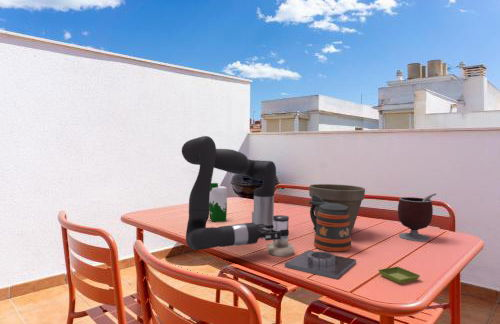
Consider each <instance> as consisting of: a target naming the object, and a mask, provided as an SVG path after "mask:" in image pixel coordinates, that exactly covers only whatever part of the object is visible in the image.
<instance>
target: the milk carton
mask: <svg viewBox="0 0 500 324" xmlns="http://www.w3.org/2000/svg"><path fill="white" fill-rule="evenodd" d="M227 208H228V187H226V186H223V185H220V186H219V183H218V182H211V187H210V198H209V220H210V219H211V220H212V221H211V220H210V221H211V222H213V223H216V222H215V221H222V222H227V212H228V211H227V210H228V209H227Z"/></svg>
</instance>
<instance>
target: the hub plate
mask: <svg viewBox="0 0 500 324" xmlns="http://www.w3.org/2000/svg"><path fill="white" fill-rule="evenodd" d="M356 263H357V259H355V258H351V257H350V258H349V257H345V256H342V255H341V256H340V255H335V254H333V253H331V252H329V251H321V250H320V251H317V250H316V251H314V250H309V249H307V250H306V251H305V252H302V253H300V254H298V255H297V256H295V257H293V258H291V259H290V260H288V261H287V262H284V268H288V269H293V270H296V271H301V272H305V273H309V274H314V275H317V276H318V275H319V276H323V277H326V278H330V279H335V280H338V279H339V278H340V277H342V275H344V274H345V273H346V272H347V271H349V270H350V269H351V268H352V267H353V266H355V265H356Z"/></svg>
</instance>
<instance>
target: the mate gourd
mask: <svg viewBox="0 0 500 324" xmlns="http://www.w3.org/2000/svg"><path fill="white" fill-rule="evenodd" d="M434 196H437V193H436V192H435V193H432V194H428V195H427V196H425V197H414V196H413V197H411V196H405V197H404V196H403V197H399V200H398V204H397V215H398V216H397V217H398V221H399V222H400V223H401V225H402V226H404V227H406V228H408V229H409V230H410V231H409V232H401V233H399V234H398V237H399V239H403V240H406V241H410V242H411V241H412V242H421V241H422V242H428V241H427V240H429V239H431V237H429V236H428V235H426V234H422V233H419V230H422V229H425V228H427V227H428V226H430V224H432V219H433V215H434V214H433V213H434V212H433V211H434V207H433V202H432V197H434ZM429 241H430V240H429Z"/></svg>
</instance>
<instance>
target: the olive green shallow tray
mask: <svg viewBox="0 0 500 324" xmlns="http://www.w3.org/2000/svg"><path fill="white" fill-rule="evenodd" d="M377 271H378V273H379V274H380V275H381V277H383V278H386V279H388V280H390V281H393V282H394V283H397V284H400V285H401V284H405V283H410V282H414V281H415V282H416V280H418V279H420V277H421V275H420V274H418V273H416V272H412V271H411V270H408V269H405V268H403V267H401V266H393V267H386V268H381V269H378V270H377Z"/></svg>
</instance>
